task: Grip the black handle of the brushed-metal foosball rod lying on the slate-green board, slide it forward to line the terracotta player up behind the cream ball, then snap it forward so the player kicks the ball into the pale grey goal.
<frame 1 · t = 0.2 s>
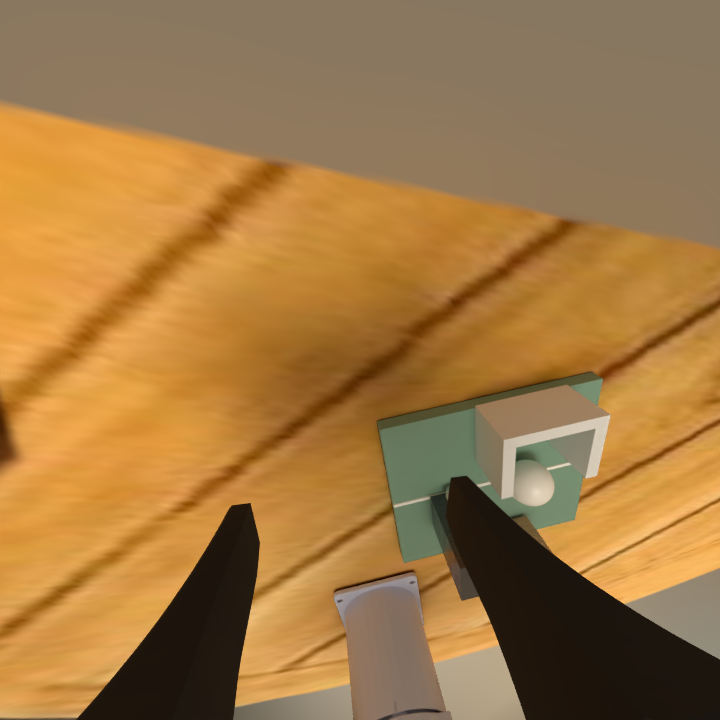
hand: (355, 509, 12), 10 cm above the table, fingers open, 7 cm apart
ball: (528, 482, 23), point 3 cm above the table, touching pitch
goal: (519, 420, 23), resting on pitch
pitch: (485, 472, 26), on the table
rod: (498, 548, 24), point 4 cm above the table, slide at 0.0 cm
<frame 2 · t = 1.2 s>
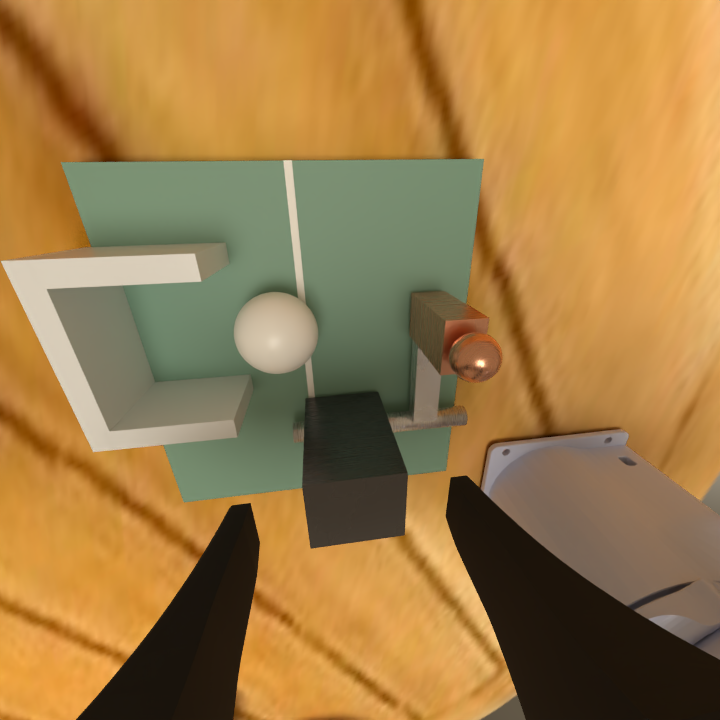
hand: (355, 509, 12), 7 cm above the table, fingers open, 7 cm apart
ball: (277, 333, 13), point 3 cm above the table, touching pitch
goal: (172, 327, 13), resting on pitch
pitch: (308, 351, 16), on the table
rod: (392, 408, 13), point 4 cm above the table, slide at 0.0 cm
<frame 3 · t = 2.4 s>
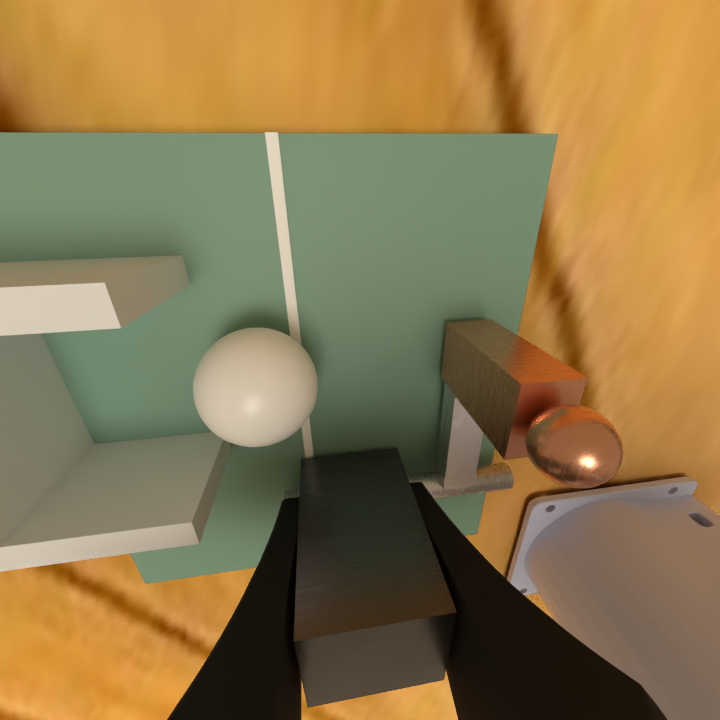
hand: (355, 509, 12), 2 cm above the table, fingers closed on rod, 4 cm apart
ball: (258, 386, 9), point 3 cm above the table, touching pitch
goal: (113, 373, 10), resting on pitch
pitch: (304, 395, 12), on the table
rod: (423, 490, 9), point 4 cm above the table, slide at 0.0 cm, touching gripper
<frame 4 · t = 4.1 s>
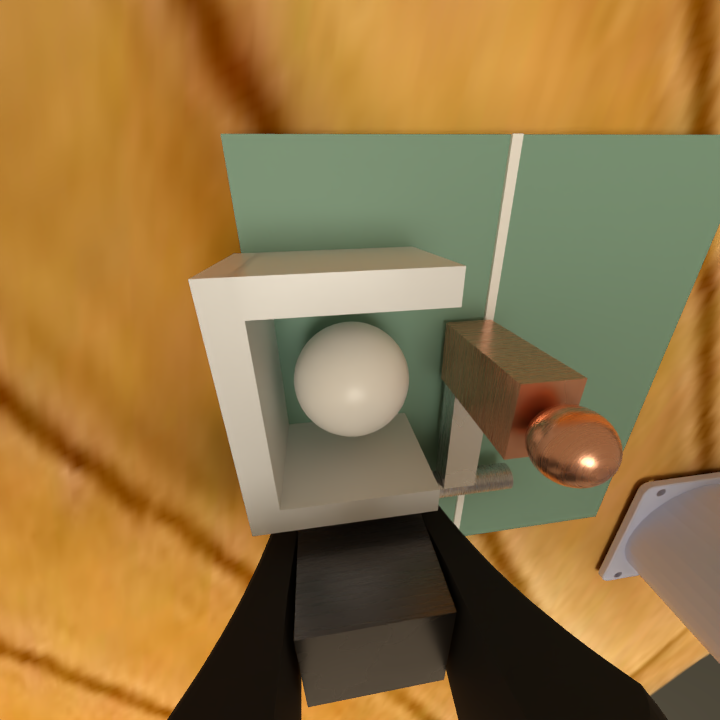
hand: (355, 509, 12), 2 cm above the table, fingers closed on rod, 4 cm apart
ball: (351, 378, 9), point 3 cm above the table, tilted 130°, touching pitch
goal: (323, 357, 10), resting on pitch
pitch: (464, 381, 13), on the table
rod: (423, 490, 9), point 4 cm above the table, slide at 6.3 cm, touching gripper
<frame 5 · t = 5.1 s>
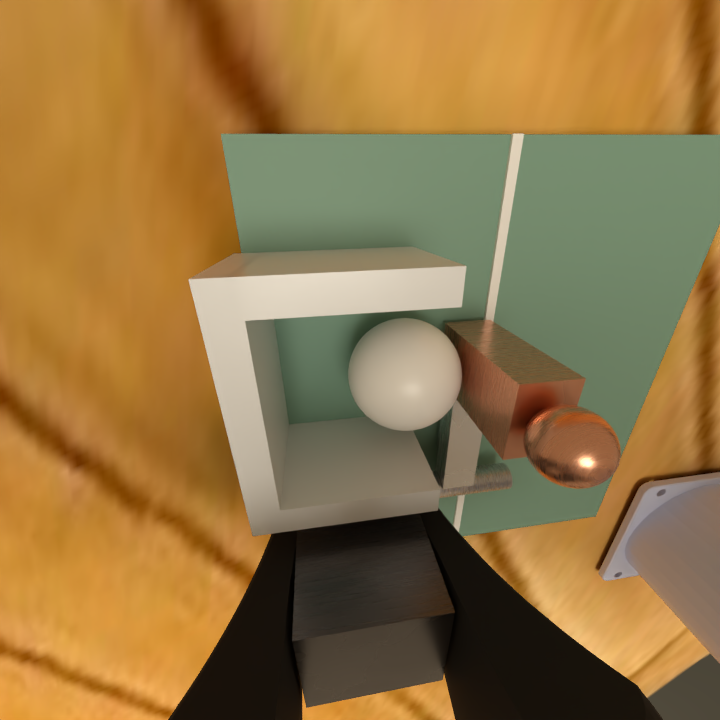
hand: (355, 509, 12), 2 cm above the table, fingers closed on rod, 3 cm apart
ball: (403, 374, 9), point 3 cm above the table, tilted 76°, touching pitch
goal: (323, 357, 10), resting on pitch
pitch: (464, 381, 13), on the table
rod: (422, 490, 9), point 4 cm above the table, slide at 6.3 cm, touching gripper
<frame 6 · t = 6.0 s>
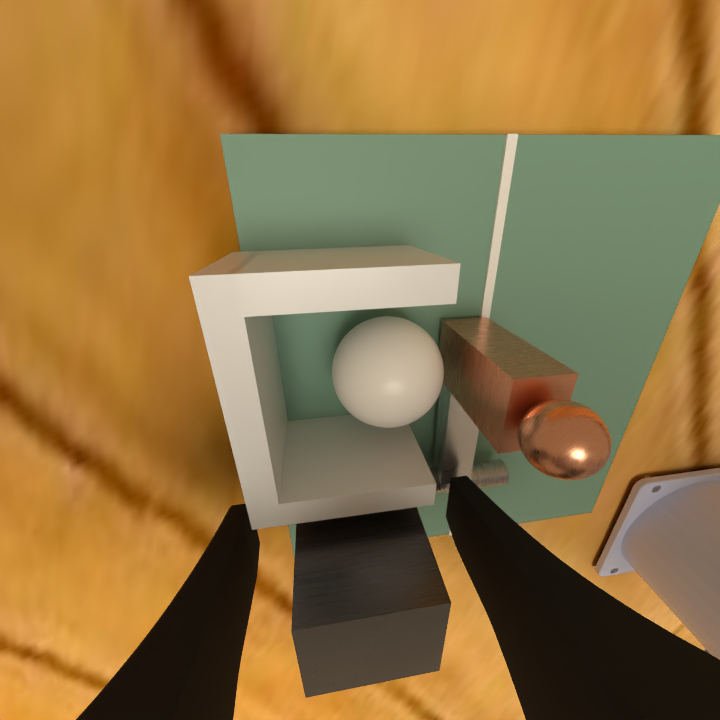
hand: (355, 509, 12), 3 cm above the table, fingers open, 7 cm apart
ball: (387, 371, 9), point 3 cm above the table, tilted 90°, touching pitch
goal: (321, 354, 10), resting on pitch
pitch: (461, 378, 13), on the table
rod: (419, 485, 9), point 4 cm above the table, slide at 6.3 cm
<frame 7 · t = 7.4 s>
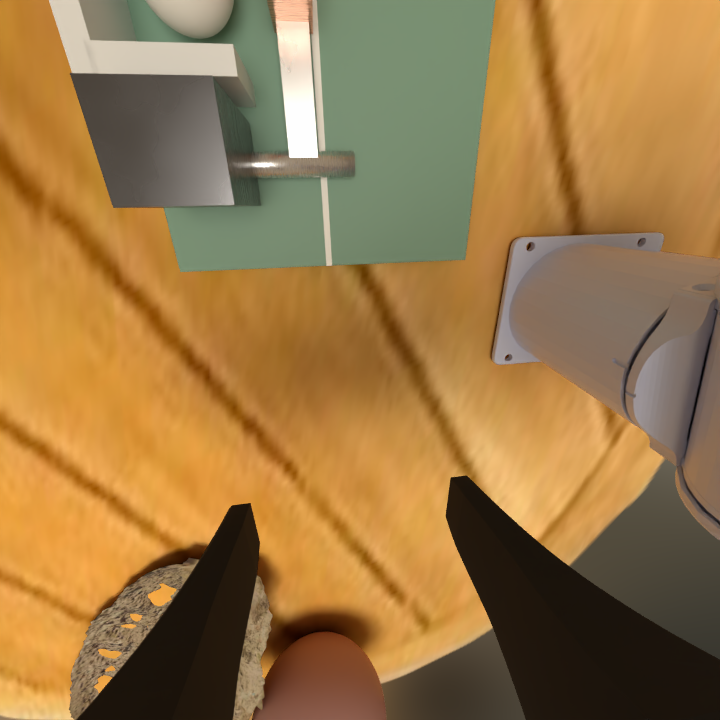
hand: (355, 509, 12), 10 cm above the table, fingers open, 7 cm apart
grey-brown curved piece: (178, 637, 32), on the table, touching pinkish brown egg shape
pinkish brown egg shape: (319, 636, 34), on the table, touching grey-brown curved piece
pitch: (317, 78, 14), on the table
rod: (231, 72, 11), point 4 cm above the table, slide at 6.3 cm
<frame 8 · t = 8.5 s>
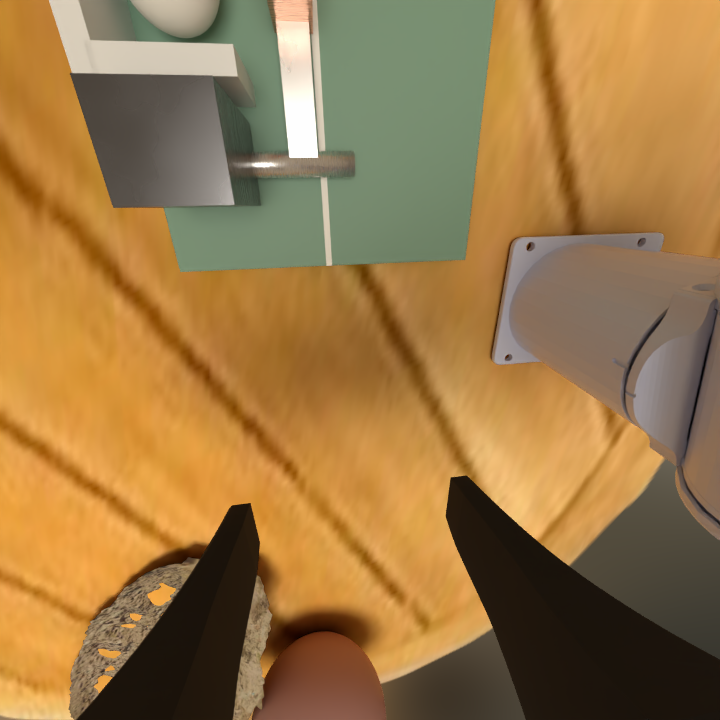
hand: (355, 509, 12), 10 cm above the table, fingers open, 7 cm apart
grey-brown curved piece: (178, 636, 32), on the table, touching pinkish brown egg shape
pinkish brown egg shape: (319, 635, 34), on the table, touching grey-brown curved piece
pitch: (317, 78, 14), on the table
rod: (231, 72, 11), point 4 cm above the table, slide at 6.3 cm
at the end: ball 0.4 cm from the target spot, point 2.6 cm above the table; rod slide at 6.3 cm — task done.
